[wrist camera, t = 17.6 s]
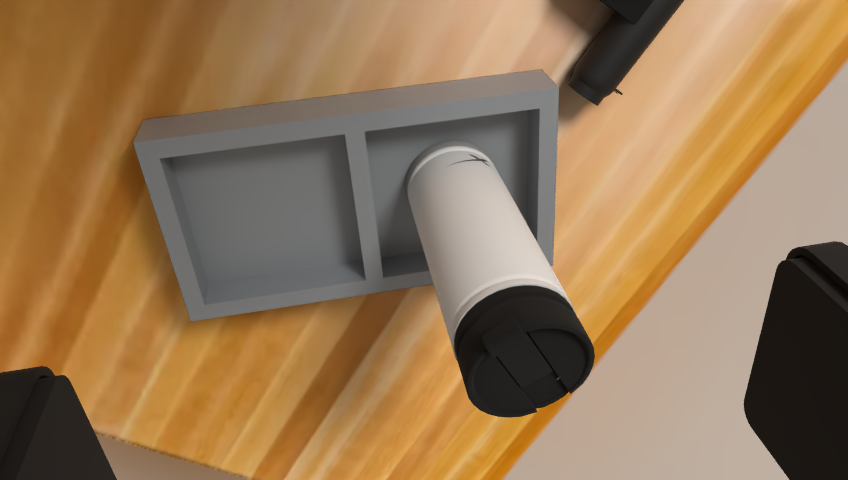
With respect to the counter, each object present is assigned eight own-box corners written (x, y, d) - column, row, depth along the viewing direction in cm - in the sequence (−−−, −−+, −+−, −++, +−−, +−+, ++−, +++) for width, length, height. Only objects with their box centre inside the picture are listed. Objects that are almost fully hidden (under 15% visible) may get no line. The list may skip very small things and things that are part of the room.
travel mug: (465, 117, 46) (566, 299, 29) (509, 190, 49) (622, 390, 33) (384, 166, 47) (437, 370, 30) (433, 234, 50) (505, 451, 34)
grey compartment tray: (143, 119, 44) (132, 142, 41) (542, 69, 46) (559, 87, 43) (196, 291, 51) (190, 321, 48) (538, 240, 53) (552, 265, 50)
